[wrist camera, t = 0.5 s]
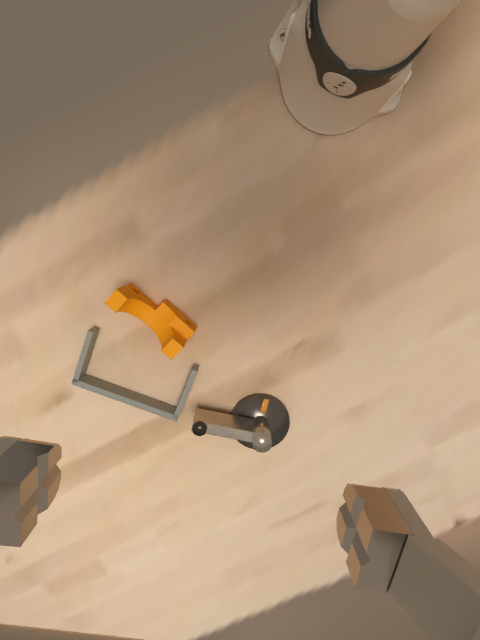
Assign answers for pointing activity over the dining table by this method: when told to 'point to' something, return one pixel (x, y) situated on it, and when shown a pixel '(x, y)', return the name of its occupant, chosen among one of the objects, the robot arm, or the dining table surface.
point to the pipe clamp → (154, 317)
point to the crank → (233, 428)
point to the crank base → (264, 415)
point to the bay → (121, 393)
